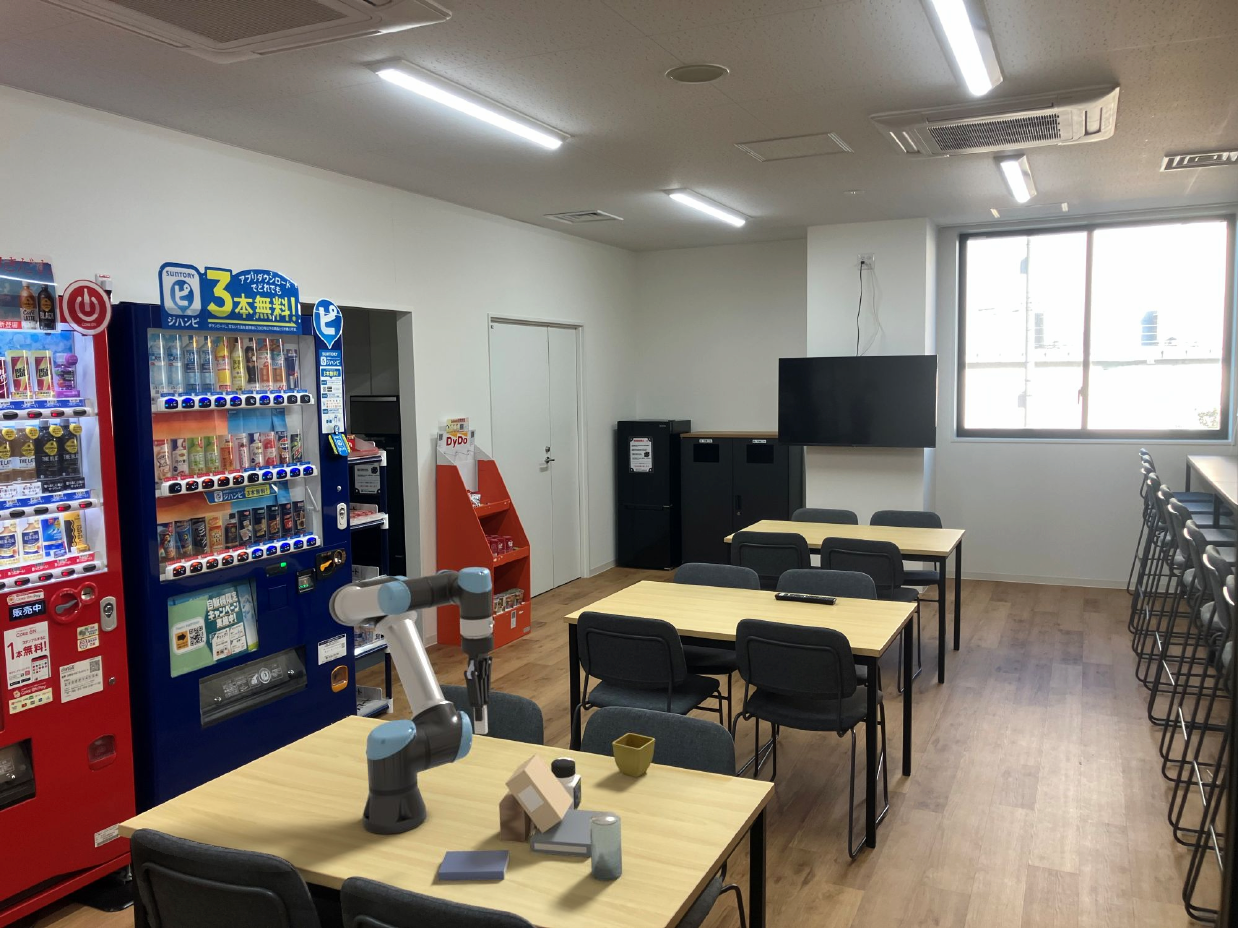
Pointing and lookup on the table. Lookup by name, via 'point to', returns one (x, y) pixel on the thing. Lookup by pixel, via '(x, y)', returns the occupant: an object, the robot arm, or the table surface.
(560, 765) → the medicine bottle
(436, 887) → the table surface
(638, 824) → the table surface
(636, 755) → the flower pot
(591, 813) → the podium
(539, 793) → the carton
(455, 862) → the notebook
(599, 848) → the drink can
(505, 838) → the rest block
